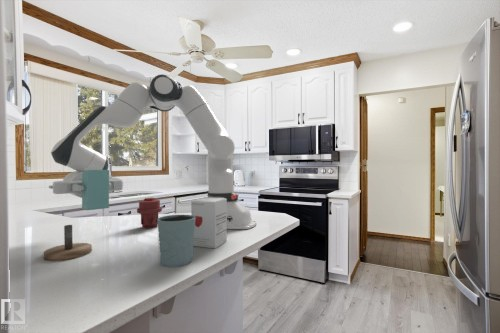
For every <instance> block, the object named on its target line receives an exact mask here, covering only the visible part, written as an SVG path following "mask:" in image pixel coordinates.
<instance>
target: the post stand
mask: <svg viewBox="0 0 500 333" xmlns="http://www.w3.org/2000/svg"><path fill="white" fill-rule="evenodd" d="M63 229H64V230H63V231H64V232H63V233H64V241H63V242H64V244H62V245H57V246H52V247H50V248H48V249H45V251H43V259H44V260H45V261H48V260H50V261H49V262H56V261H57V262H59V261H68V260H73V259H78V258H81V257H83V256H86V255H89V254H90V253H92V251H93V249H92V248H93V246H92V244H91V243H87V242H74V243H73V224H67V225H66V224H65V225H64V226H63Z"/></svg>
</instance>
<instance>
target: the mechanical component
mask: <svg viewBox="0 0 500 333" xmlns="http://www.w3.org/2000/svg"><path fill="white" fill-rule="evenodd" d="M162 211H163V207H162V206H161V200H160V199H156V198H155V197H145V198H144V199H143V200H142V199H141V200H139V201H138V208H137V209H136V212H137V214H140V225H141V226H142V227H141V228H142V229H143V230H144V229H149V228H151V229H152V228H153V227H155V228H158V222H157V219H158V218H159V213H161V212H162Z"/></svg>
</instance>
